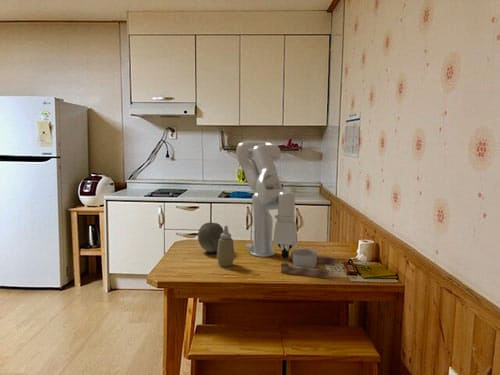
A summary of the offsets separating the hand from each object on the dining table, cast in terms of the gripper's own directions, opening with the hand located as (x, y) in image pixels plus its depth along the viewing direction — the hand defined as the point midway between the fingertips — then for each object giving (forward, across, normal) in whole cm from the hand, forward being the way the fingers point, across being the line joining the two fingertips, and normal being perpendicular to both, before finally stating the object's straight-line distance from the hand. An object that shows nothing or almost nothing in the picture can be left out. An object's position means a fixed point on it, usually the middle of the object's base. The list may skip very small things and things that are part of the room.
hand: (285, 258), depth 176 cm
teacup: (+4, +9, 0) cm, 10 cm away
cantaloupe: (+3, -40, +7) cm, 41 cm away
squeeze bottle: (+3, -25, -10) cm, 27 cm away
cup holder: (+3, +11, 0) cm, 11 cm away
